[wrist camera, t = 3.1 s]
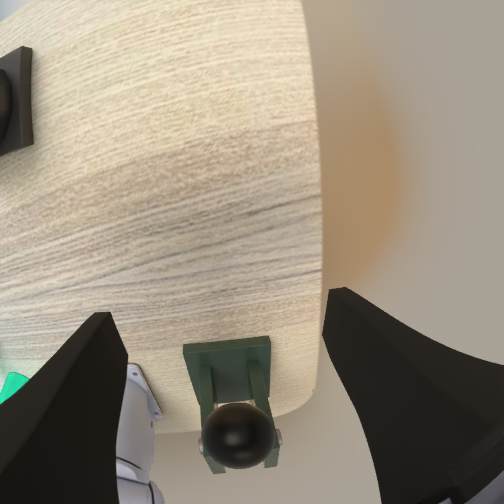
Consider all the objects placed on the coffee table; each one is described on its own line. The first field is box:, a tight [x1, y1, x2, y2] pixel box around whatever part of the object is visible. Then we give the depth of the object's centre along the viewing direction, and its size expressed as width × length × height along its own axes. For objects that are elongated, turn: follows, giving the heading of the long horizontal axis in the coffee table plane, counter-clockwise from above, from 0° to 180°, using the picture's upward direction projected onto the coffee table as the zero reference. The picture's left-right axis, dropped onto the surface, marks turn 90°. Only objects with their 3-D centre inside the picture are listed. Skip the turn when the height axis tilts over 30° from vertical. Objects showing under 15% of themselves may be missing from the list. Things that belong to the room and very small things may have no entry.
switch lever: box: [201, 403, 276, 469], centre depth 13 cm, size 13×3×3 cm, turn 2°
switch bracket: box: [183, 336, 282, 474], centre depth 20 cm, size 8×7×9 cm
